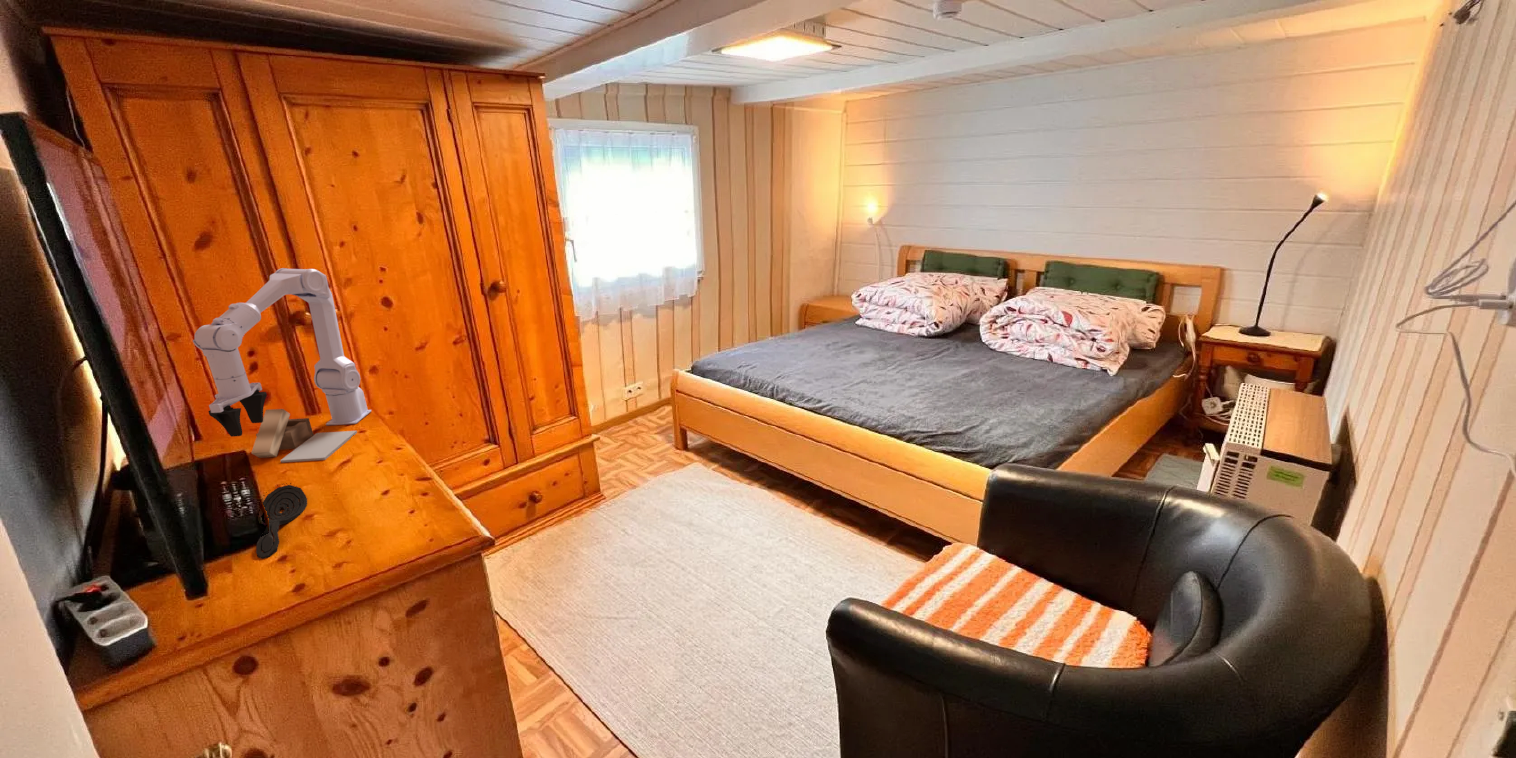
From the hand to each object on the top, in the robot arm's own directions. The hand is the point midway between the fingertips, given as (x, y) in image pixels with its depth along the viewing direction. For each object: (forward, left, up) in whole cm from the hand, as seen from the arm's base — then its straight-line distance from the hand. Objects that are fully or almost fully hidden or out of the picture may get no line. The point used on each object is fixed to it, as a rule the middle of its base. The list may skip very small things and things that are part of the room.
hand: (247, 428), depth 140 cm
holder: (-12, 0, -9) cm, 15 cm away
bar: (-8, 0, -6) cm, 10 cm away
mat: (-8, +10, -9) cm, 16 cm away
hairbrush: (+29, +21, -10) cm, 37 cm away
